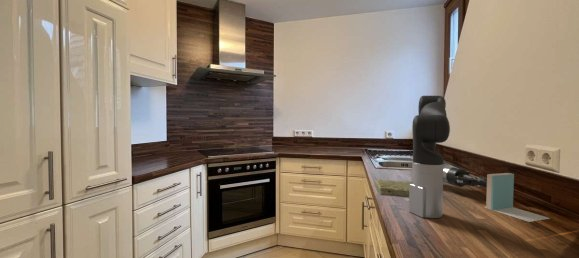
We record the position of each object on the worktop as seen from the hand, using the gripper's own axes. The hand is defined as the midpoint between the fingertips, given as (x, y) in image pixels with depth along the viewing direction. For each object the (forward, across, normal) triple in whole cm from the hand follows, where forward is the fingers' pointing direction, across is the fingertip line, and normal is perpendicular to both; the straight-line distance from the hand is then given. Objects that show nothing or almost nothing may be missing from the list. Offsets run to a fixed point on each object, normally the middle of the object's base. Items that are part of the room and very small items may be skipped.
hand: (491, 185), depth 97 cm
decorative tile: (-25, -20, +8) cm, 33 cm away
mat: (+8, 0, +8) cm, 11 cm away
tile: (+3, 0, +7) cm, 8 cm away
